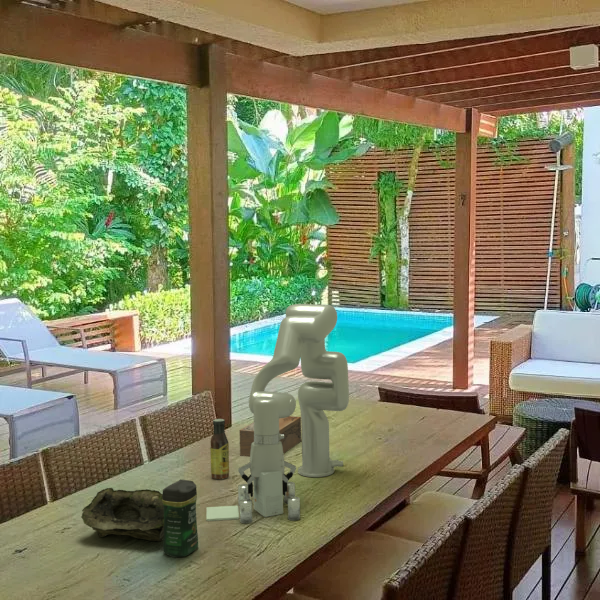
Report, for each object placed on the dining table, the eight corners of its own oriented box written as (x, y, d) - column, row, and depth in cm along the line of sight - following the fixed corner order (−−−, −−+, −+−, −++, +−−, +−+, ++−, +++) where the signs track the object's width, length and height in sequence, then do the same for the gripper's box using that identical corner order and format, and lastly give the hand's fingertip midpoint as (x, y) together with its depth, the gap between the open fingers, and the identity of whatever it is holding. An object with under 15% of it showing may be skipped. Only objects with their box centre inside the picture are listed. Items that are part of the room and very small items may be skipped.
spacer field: (294, 500, 256) (294, 481, 255) (300, 520, 238) (300, 500, 238) (238, 503, 254) (237, 484, 253) (240, 523, 236) (239, 503, 236)
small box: (283, 513, 244) (282, 471, 242) (264, 517, 241) (263, 474, 240) (272, 505, 251) (271, 464, 250) (253, 509, 248) (252, 467, 247)
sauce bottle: (226, 480, 276) (224, 422, 274) (208, 479, 278) (206, 422, 276) (231, 474, 283) (230, 418, 281) (214, 473, 284) (212, 417, 282)
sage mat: (238, 507, 250) (237, 505, 250) (239, 519, 240) (239, 517, 240) (206, 509, 249) (206, 507, 249) (206, 521, 239) (206, 519, 239)
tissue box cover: (267, 438, 329) (267, 414, 328) (301, 441, 324) (300, 417, 323) (240, 456, 306) (239, 430, 305) (275, 459, 300) (275, 433, 299)
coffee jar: (186, 560, 212) (183, 490, 210) (159, 556, 214) (156, 487, 213) (203, 546, 221) (201, 478, 219) (177, 542, 223) (175, 476, 222)
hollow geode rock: (177, 560, 223) (197, 509, 231) (158, 541, 214) (179, 489, 222) (94, 542, 235) (116, 494, 243) (72, 523, 225) (95, 474, 234)
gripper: (294, 434, 248) (295, 489, 250) (237, 436, 247) (238, 492, 248) (296, 440, 241) (297, 497, 242) (237, 443, 239) (239, 500, 241)
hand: (267, 495), depth 245 cm, fingers open, 9 cm apart
